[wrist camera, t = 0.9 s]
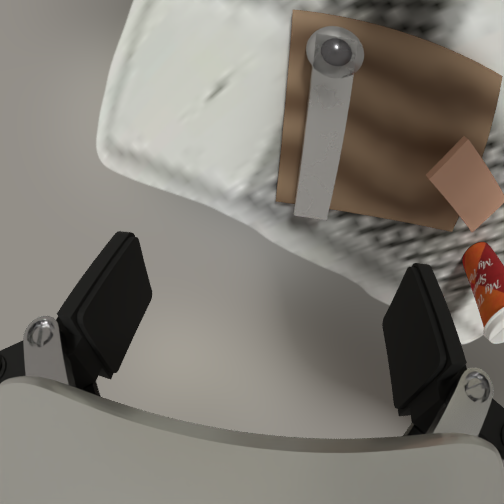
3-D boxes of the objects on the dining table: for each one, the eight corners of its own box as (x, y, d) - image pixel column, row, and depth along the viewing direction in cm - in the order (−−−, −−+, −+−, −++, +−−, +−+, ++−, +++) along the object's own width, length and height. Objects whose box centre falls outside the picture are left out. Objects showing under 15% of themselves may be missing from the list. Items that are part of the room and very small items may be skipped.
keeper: (409, 154, 29) (428, 179, 24) (442, 120, 25) (468, 139, 20) (452, 202, 31) (472, 232, 26) (482, 173, 27) (506, 199, 22)
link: (307, 24, 21) (308, 21, 18) (360, 33, 20) (368, 32, 17) (288, 200, 34) (286, 218, 31) (331, 206, 33) (333, 225, 30)
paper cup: (465, 235, 33) (503, 311, 23) (502, 236, 32) (541, 306, 21) (450, 275, 38) (476, 349, 28) (485, 274, 37) (514, 343, 26)
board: (293, 11, 21) (293, 9, 20) (497, 74, 19) (502, 76, 18) (276, 196, 35) (275, 201, 34) (448, 226, 33) (451, 231, 32)
